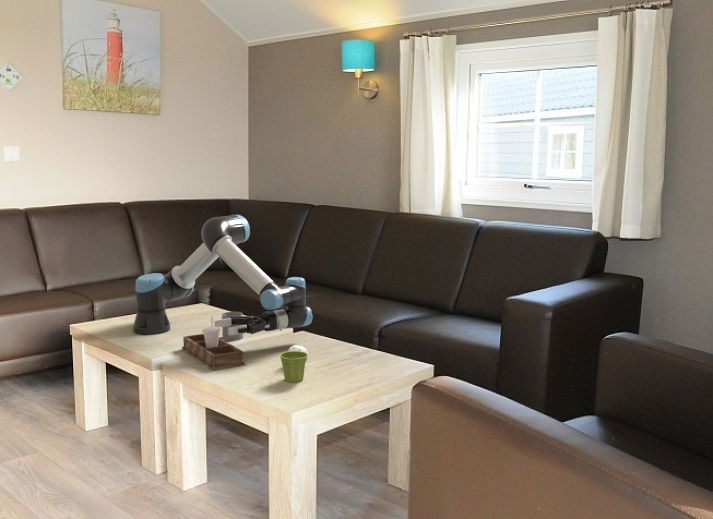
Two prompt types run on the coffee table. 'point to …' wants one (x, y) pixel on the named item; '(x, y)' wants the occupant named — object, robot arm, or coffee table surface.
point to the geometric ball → (298, 349)
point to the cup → (225, 328)
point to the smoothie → (211, 335)
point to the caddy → (213, 352)
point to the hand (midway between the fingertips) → (221, 327)
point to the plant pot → (293, 365)
